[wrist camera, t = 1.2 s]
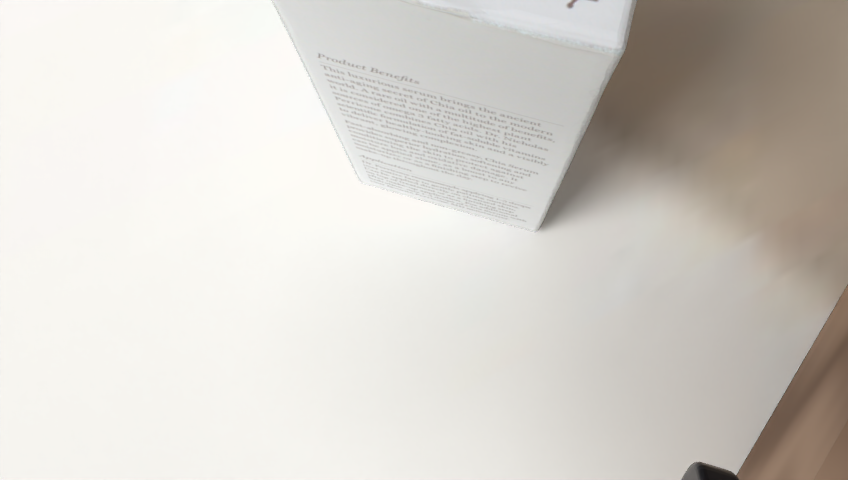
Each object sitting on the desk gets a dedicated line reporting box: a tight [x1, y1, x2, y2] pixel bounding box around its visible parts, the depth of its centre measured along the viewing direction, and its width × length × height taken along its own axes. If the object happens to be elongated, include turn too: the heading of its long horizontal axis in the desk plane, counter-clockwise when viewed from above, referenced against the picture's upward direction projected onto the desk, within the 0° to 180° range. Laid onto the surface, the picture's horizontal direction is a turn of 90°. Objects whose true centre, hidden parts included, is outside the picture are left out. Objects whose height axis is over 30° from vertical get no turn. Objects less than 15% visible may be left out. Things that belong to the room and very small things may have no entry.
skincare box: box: [272, 0, 637, 232], centre depth 17 cm, size 6×4×12 cm
